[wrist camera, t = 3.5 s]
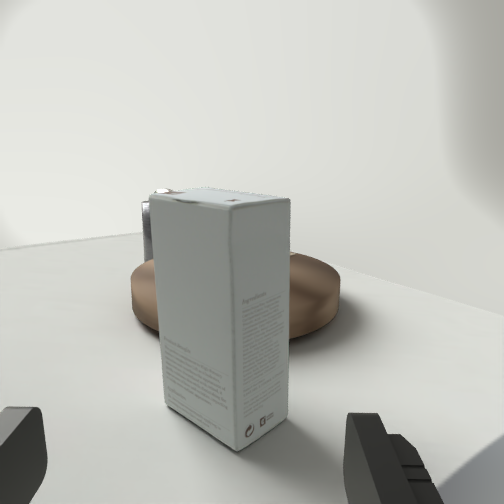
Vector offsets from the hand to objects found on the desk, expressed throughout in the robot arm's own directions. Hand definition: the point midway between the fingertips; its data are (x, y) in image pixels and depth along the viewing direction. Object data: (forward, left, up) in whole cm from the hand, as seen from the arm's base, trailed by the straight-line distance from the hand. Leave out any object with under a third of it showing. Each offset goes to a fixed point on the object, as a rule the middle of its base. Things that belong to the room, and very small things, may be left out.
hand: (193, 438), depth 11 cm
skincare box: (+9, +7, -7) cm, 14 cm away
